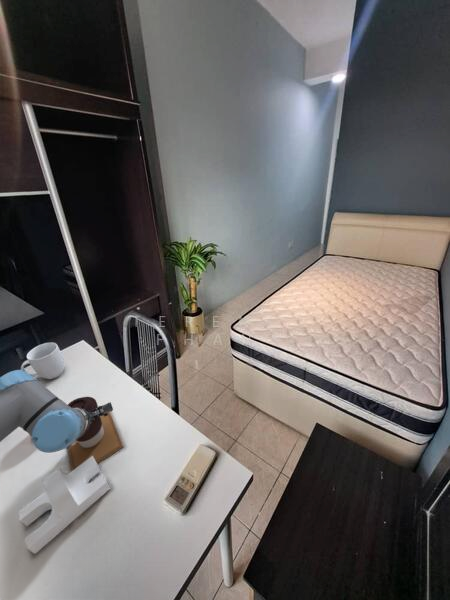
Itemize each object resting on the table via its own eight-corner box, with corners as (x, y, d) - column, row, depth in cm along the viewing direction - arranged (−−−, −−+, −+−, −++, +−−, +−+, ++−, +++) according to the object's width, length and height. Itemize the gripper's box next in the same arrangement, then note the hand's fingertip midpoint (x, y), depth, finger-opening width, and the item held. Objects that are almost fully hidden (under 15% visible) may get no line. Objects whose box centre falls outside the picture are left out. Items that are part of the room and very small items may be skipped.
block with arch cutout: (96, 462, 74) (84, 441, 68) (110, 488, 68) (99, 467, 62) (24, 517, 63) (3, 497, 57) (34, 554, 57) (11, 536, 51)
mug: (27, 391, 100) (12, 367, 94) (30, 375, 108) (16, 352, 102) (69, 376, 107) (57, 352, 100) (68, 361, 115) (57, 339, 109)
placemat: (65, 431, 83) (64, 431, 83) (108, 409, 91) (107, 408, 90) (74, 478, 70) (73, 477, 70) (123, 447, 78) (122, 446, 77)
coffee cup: (71, 438, 80) (53, 407, 73) (102, 418, 86) (88, 387, 79) (81, 460, 74) (62, 428, 67) (113, 436, 80) (99, 405, 73)
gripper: (18, 468, 54) (48, 450, 74) (123, 416, 64) (125, 412, 84) (10, 434, 56) (41, 425, 75) (114, 388, 66) (117, 391, 85)
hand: (85, 418), depth 79 cm, fingers closed on coffee cup, 10 cm apart
